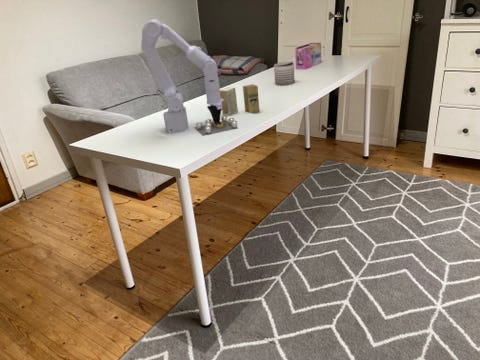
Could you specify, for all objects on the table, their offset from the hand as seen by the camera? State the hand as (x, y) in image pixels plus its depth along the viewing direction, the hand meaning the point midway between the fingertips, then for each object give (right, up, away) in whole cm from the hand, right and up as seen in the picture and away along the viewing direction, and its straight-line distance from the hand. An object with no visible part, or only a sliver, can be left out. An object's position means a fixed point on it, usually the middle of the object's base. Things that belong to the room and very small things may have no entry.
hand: (216, 122), depth 165 cm
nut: (+2, -2, -3) cm, 4 cm away
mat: (0, -4, -4) cm, 5 cm away
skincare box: (+5, +5, +13) cm, 15 cm away
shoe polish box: (+15, +7, +14) cm, 22 cm away
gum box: (+57, +54, +104) cm, 130 cm away
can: (+36, +31, +61) cm, 77 cm away
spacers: (0, -3, -4) cm, 5 cm away
